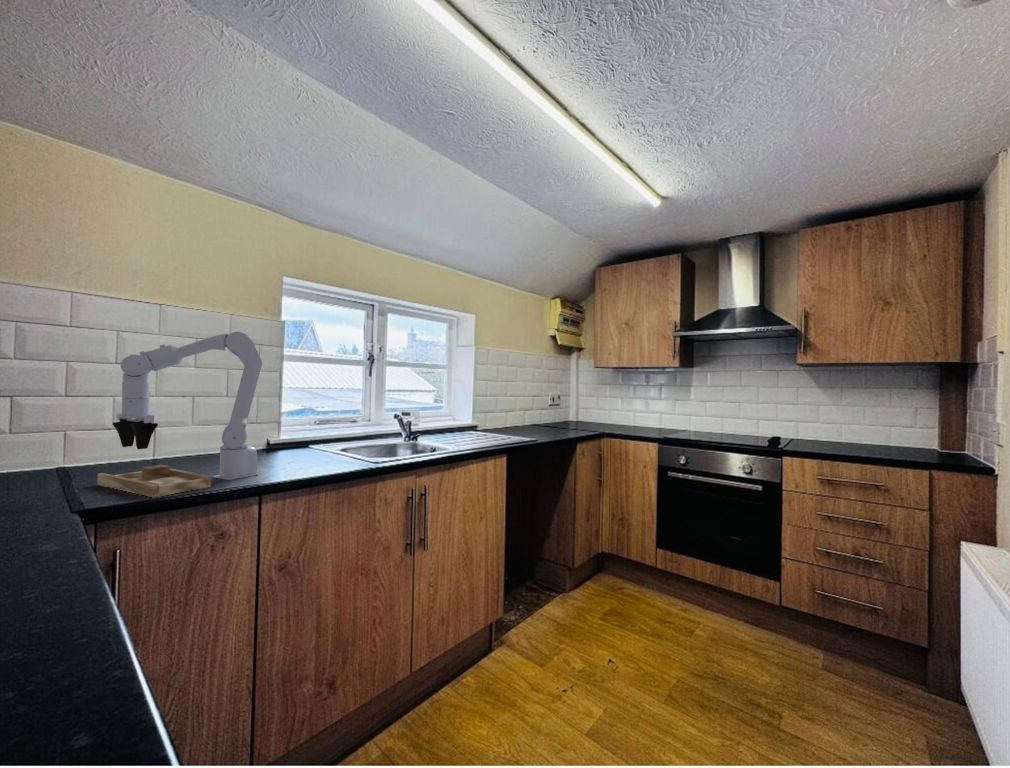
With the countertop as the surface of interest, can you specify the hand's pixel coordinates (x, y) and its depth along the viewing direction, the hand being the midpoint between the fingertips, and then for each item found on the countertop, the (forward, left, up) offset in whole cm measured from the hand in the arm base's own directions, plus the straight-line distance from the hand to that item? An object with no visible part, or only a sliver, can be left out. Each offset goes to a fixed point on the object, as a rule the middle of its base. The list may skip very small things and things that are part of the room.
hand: (134, 447), depth 118 cm
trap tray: (-2, +6, -10) cm, 12 cm away
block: (-4, +3, -9) cm, 10 cm away
